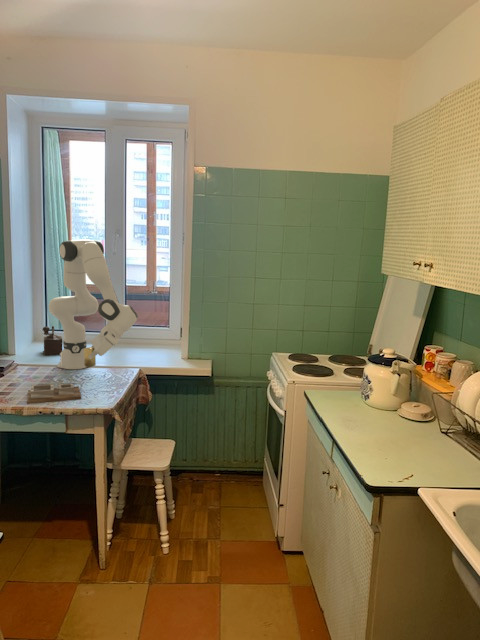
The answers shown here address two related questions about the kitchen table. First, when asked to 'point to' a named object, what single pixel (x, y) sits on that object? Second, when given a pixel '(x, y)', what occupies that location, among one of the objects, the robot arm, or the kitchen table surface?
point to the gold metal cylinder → (88, 361)
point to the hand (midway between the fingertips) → (88, 356)
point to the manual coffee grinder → (52, 342)
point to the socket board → (53, 393)
